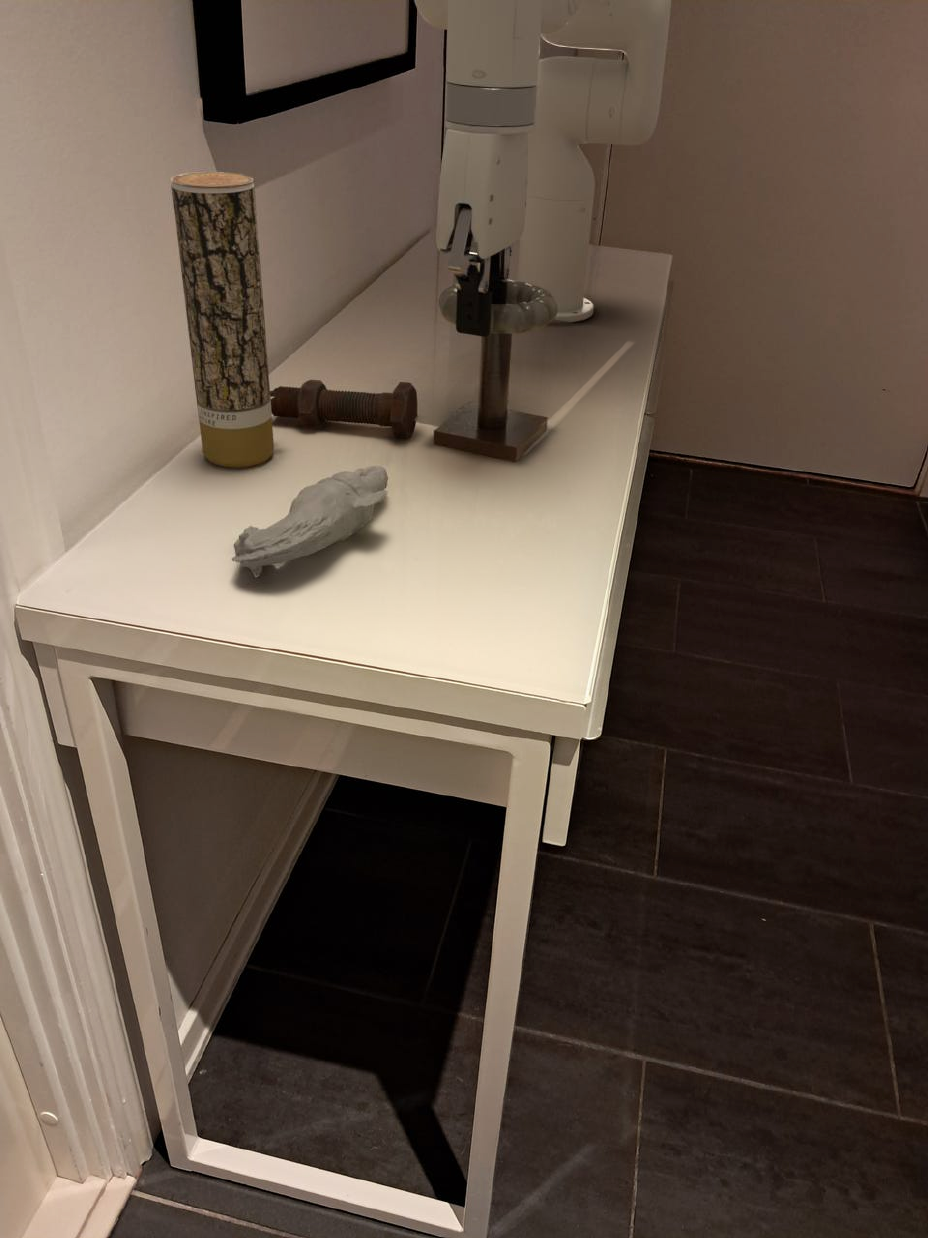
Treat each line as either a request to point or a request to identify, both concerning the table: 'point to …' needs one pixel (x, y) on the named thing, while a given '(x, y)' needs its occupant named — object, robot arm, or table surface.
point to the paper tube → (225, 314)
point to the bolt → (348, 406)
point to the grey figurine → (315, 519)
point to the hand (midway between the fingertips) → (480, 326)
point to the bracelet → (510, 308)
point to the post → (492, 411)
